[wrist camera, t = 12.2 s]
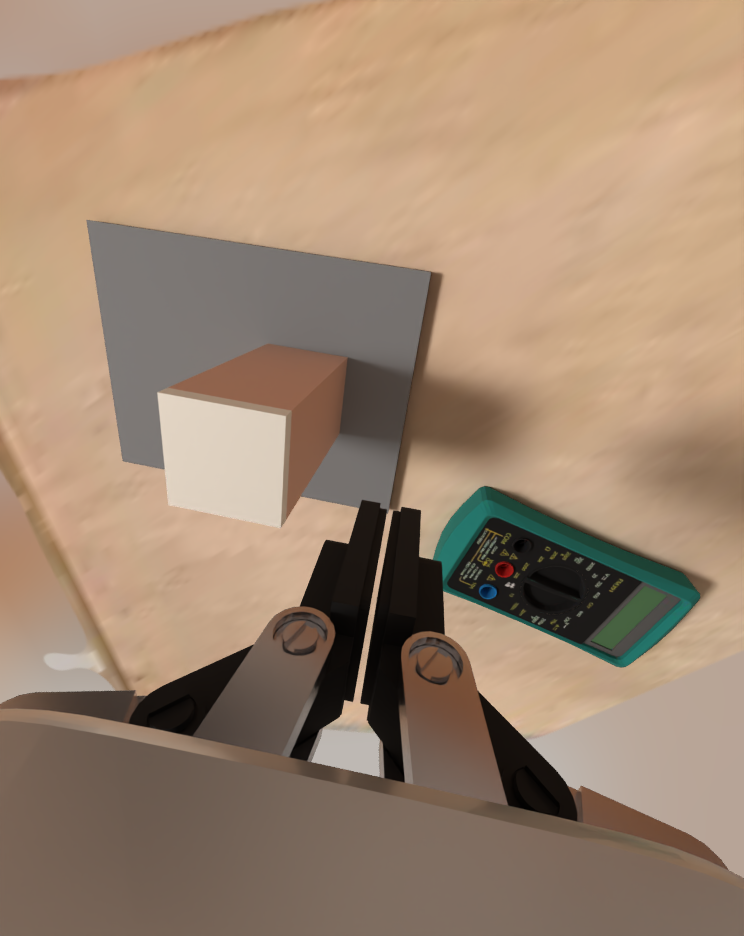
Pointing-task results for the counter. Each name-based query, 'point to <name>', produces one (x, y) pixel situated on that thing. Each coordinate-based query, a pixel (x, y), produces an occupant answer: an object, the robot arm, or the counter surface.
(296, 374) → the block
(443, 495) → the counter surface
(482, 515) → the digital multimeter
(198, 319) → the mat
